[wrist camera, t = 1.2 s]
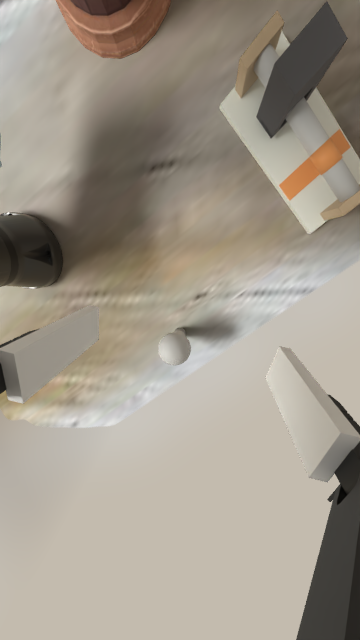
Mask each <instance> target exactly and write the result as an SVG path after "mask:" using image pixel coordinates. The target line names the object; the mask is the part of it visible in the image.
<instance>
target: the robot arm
mask: <svg viewBox="0 0 360 640" xmlns="http://www.w3.org/2000/svg"><path fill="white" fill-rule="evenodd" d="M0 148H1V134H0ZM1 166H2V164H1V161H0V167H1ZM61 269H62V253H61V249H60V246H59V243H58V241H57V239H56V237H55V236H54V234H53V233H52V231H51V230H50V229H49V228H48V227H47V226H46V225H45V224H44V223H43V222H42V221H40V220H39V219H37V218H35V217H33V216H30V215H27V214H21V213H15V212H9V213H3V214H1V215H0V287H1V286H18V287H24V288H30V289H35V288H41V287H45V286H49V285H51V284H52V283H54V282H55V281H56V280H57V278H58V277H59V275H60V273H61ZM98 340H99V307H97V306H92V305H88V306H86V307H84V308H82V309H80V310H78V311H76V312H73V313H71V314H69V315H67V316H65V317H63V318H61V319H59V320H57V321H55V322H53V323H51V324H49V325H47V326H45V327H43V328H41V329H37V330H33V331H30V332H27V333H25V334H23V335H21V336H20V337H17V338H15V339H13V340H10V341H8V342H6V343H4V344H2V345H0V394H1V393H2V392H4V391H5V390H6V392H7V397H8V400H11V401H15V402H19V403H24V402H26V401H27V400H28V399H29V398H30V397H31V396H33V395H34V394H35V393H36V392H37V391H39V390H40V389H41V388H42V387H43V386H44V385H46V384H47V383H48V382H49V381H50V380H52V379H53V378H54V377H55V376H56V375H57V374H59V373H60V372H61V371H62V370H63V369H65V368H66V367H67V366H68V365H69V364H70V363H72V362H73V361H74V360H75V359H76V358H78V357H79V356H80V355H81V354H82V353H83V352H85V351H86V350H87V349H88V348H89V347H91V346H92V345H93V344H94V343H95V342H96V341H98ZM266 380H267V383H268V385H269V387H270V389H271V392H272V394H273V396H274V399H275V401H276V403H277V405H278V408H279V410H280V412H281V414H282V417H283V419H284V422H285V424H286V426H287V428H288V431H289V433H290V435H291V438H292V440H293V442H294V444H295V446H296V449H297V451H298V454H299V456H300V458H301V461H302V463H303V465H304V467H305V470H306V472H307V474H308V476H309V478H313V479H317V480H321V481H324V482H328V481H329V480H330V478H331V477H332V476H333V475H334V473H335V475H336V476H337V478H338V480H339V482H340V485H339V486H338V487H337V488H336V490H335V491H334V492H333V494H332V495H331V496H330V497H329V498H328V501H329V502H331V501H332V500H333V502H332V506H331V510H330V514H329V518H328V521H327V525H326V529H325V533H324V537H323V540H322V545H321V548H320V552H319V555H318V559H317V563H316V567H315V571H314V574H313V578H312V582H311V586H310V590H309V593H308V597H307V601H306V605H305V609H304V612H303V616H302V620H301V624H300V628H299V631H298V635H297V639H296V640H360V426H359V425H358V424H357V423H356V422H355V421H353V418H352V417H351V416H350V415H349V414H348V413H347V411H346V410H345V409H344V407H343V406H342V405H341V404H340V403H339V402H338V401H337V400H335V399H334V398H333V397H331V395H327V394H326V392H325V391H324V390H323V389H322V388H321V386H320V385H319V384H318V382H317V381H316V380H315V379H314V377H312V375H311V374H310V372H309V371H308V370H307V369H306V368H305V366H304V365H303V364H302V363H301V362H300V360H299V359H298V358H297V356H296V355H295V354H294V353H293V352H292V350H291V349H289V348H285V347H280V346H279V348H278V350H277V352H276V355H275V357H274V359H273V362H272V364H271V366H270V369H269V371H268V373H267V376H266Z"/></svg>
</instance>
